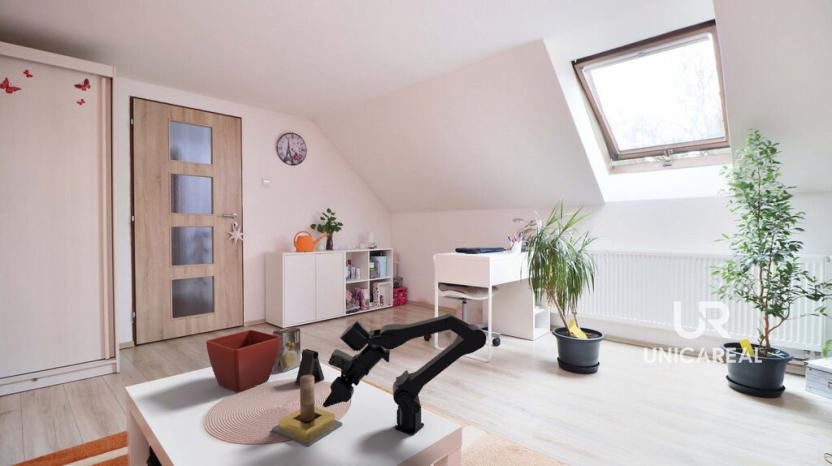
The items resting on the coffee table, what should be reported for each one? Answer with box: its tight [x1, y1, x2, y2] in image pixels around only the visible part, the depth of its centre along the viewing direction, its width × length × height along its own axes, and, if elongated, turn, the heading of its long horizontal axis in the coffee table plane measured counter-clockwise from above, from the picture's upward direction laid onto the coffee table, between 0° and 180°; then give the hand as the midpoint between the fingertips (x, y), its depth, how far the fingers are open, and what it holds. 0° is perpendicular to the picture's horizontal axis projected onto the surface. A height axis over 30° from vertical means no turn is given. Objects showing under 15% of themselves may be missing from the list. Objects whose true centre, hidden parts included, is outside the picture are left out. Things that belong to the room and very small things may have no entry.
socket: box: [271, 407, 343, 447], centre depth 112 cm, size 15×13×3 cm
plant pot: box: [205, 329, 280, 393], centre depth 144 cm, size 19×19×17 cm
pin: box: [299, 375, 316, 424], centre depth 112 cm, size 4×4×14 cm
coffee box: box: [272, 326, 302, 373], centre depth 160 cm, size 9×6×16 cm
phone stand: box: [294, 348, 325, 386], centre depth 145 cm, size 9×6×12 cm, turn 147°
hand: (328, 398), depth 112 cm, fingers open, 9 cm apart
